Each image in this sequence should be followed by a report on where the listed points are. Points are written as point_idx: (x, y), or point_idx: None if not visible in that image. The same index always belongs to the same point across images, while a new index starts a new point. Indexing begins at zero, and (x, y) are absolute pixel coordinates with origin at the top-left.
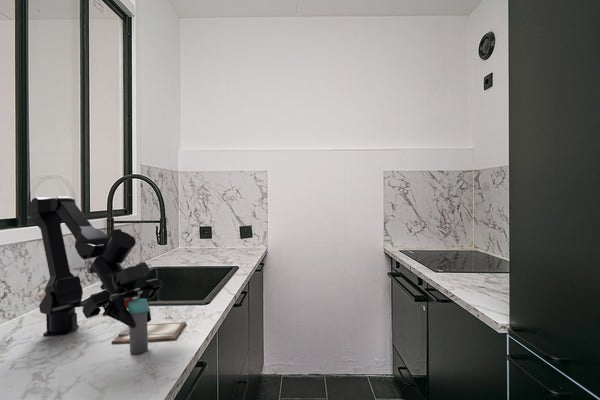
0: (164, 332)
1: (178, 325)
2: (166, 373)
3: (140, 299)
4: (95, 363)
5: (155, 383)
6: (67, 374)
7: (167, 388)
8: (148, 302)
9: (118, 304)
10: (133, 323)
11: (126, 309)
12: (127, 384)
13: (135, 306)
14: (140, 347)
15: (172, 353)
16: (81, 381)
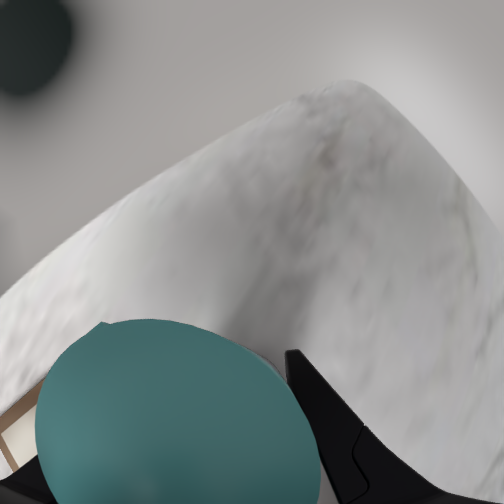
0: None
1: (13, 431)
2: (298, 131)
3: (89, 490)
4: (411, 426)
5: (349, 114)
6: (490, 403)
7: (339, 81)
8: (35, 457)
9: (465, 501)
10: (301, 357)
11: (341, 469)
12: (405, 169)
13: (273, 370)
14: (257, 354)
15: (183, 239)
16: (486, 309)
